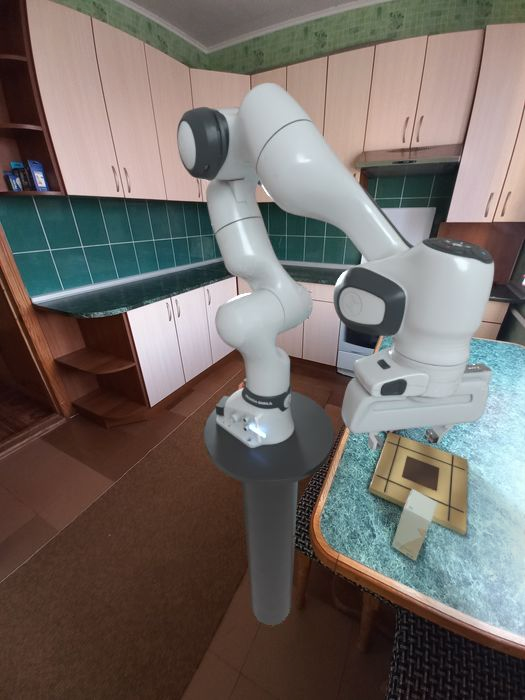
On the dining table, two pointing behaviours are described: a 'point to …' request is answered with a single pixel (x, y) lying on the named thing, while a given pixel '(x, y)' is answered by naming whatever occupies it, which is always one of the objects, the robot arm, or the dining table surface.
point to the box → (414, 524)
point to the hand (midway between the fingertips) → (403, 444)
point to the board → (423, 479)
